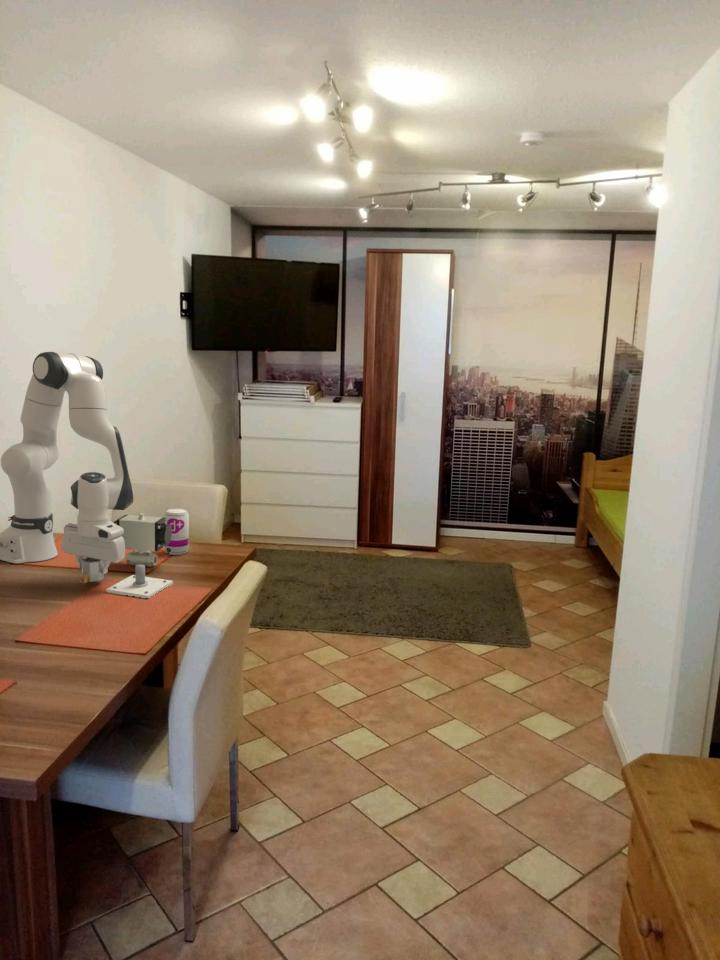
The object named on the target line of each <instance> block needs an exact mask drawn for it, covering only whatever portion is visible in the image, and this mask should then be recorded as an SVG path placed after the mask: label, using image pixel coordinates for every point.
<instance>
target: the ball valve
mask: <svg viewBox="0 0 720 960" xmlns="http://www.w3.org/2000/svg"><path fill="white" fill-rule="evenodd" d="M112 522H113V523H115V524H116V525H118V526H120V527H122V528H123V529H124V533H123V534H122V535H121V536H122V537H123V538H124V541H125V550H132V551H130V552H127V554H126V555H125V562H126V564H127V565H130V566H134V567H135V566H136V565H139V564H142V565H145V567H146V566H147V567H149V568H151V567H155V566H156V565H157V563H158V555H157V554H156V553H154V552H159V551H161V549H163V548H165V545H168V544H169V543H170V540H171V536H172V529H171V526H170V525H169V524H167V522H166V518H165V516H164V517H163V516H151V515H145V514H144V512H140V513H138V515H135V514H124V515H122V516H121V517H119V518H116V520H114V521H112Z"/></svg>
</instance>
